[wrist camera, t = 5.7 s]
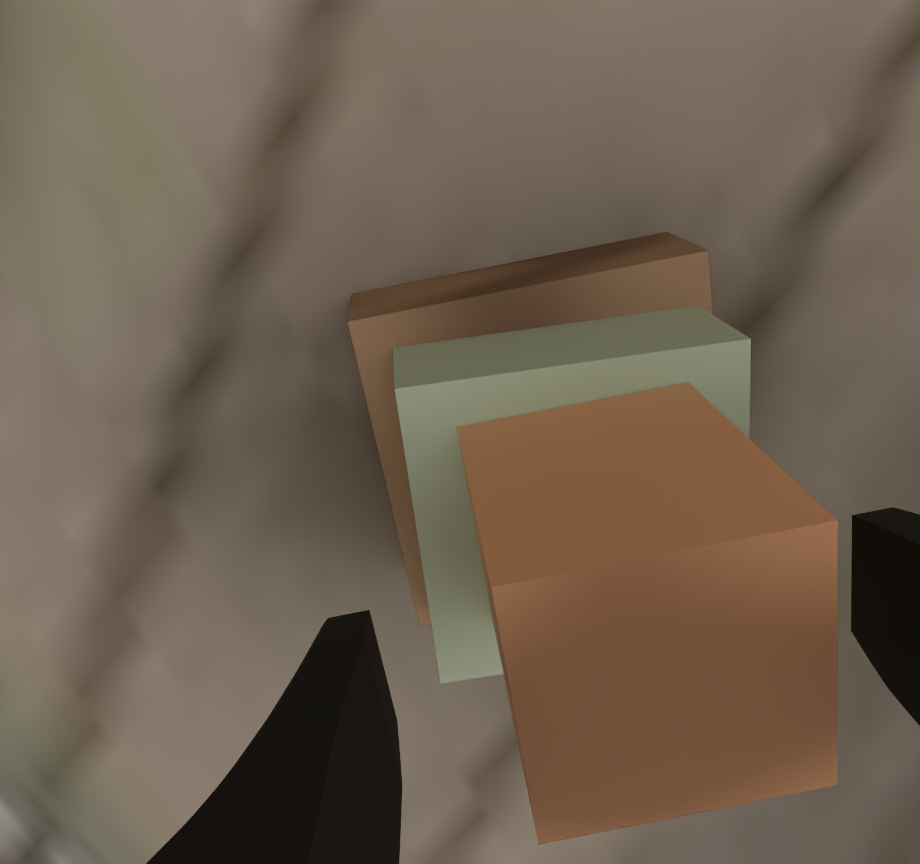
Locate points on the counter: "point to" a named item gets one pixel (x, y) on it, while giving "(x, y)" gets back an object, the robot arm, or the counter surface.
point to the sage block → (525, 391)
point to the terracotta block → (654, 610)
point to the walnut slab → (506, 329)
